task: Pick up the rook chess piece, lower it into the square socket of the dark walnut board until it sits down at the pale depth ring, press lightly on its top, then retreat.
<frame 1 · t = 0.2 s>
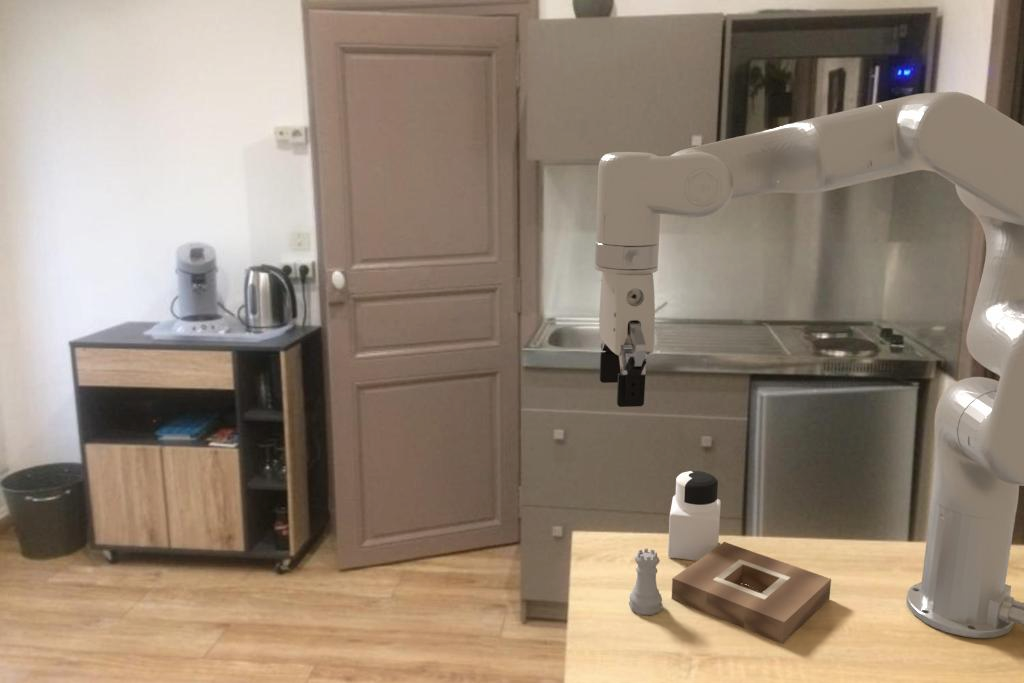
hand: (620, 393, 110), 30 cm above the table, tool pointing down, fingers open, 9 cm apart
board: (750, 598, 119), on the table
medicine bottle: (693, 551, 133), on the table
rook chess piece: (645, 609, 117), on the table
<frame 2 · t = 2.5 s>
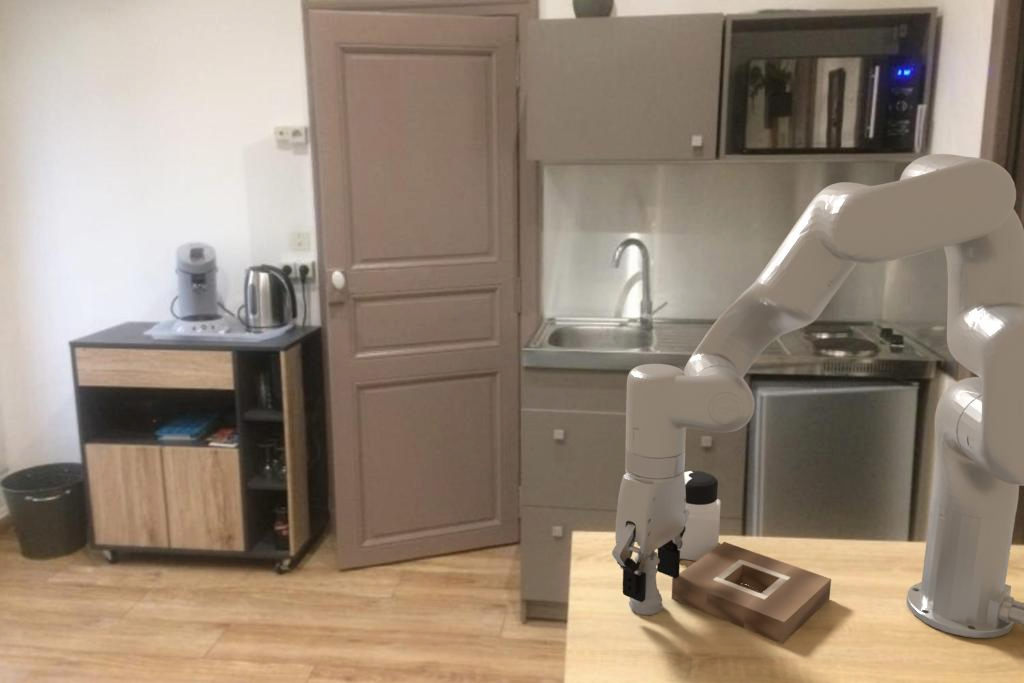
hand: (651, 584, 117), 3 cm above the table, tool pointing down, fingers open, 7 cm apart
nothing on the table moved.
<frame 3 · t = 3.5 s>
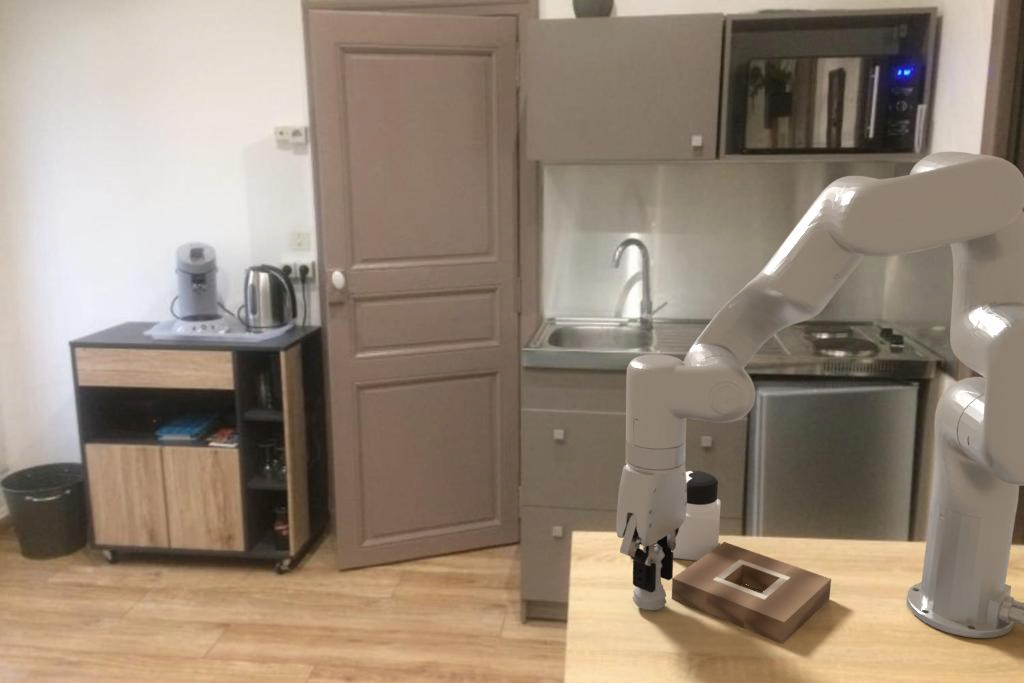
hand: (652, 581, 117), 4 cm above the table, tool pointing down, fingers closed on rook chess piece, 3 cm apart
rook chess piece: (648, 604, 117), on the table, touching gripper
everything else where it was.
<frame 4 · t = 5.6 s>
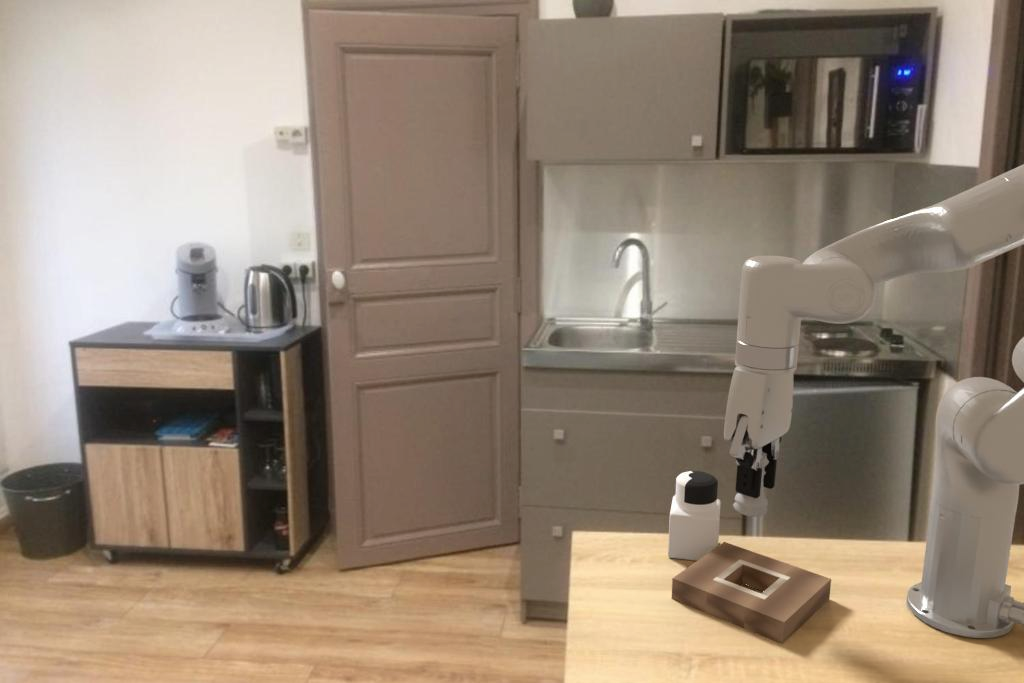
hand: (755, 488, 115), 16 cm above the table, tool pointing down, fingers closed on rook chess piece, 3 cm apart
rook chess piece: (749, 512, 116), point 13 cm above the table, touching gripper
everything else where it was.
when the fingers open (4 cm above the table, at t = 7.4 s): rook chess piece stays where it is, on the table.
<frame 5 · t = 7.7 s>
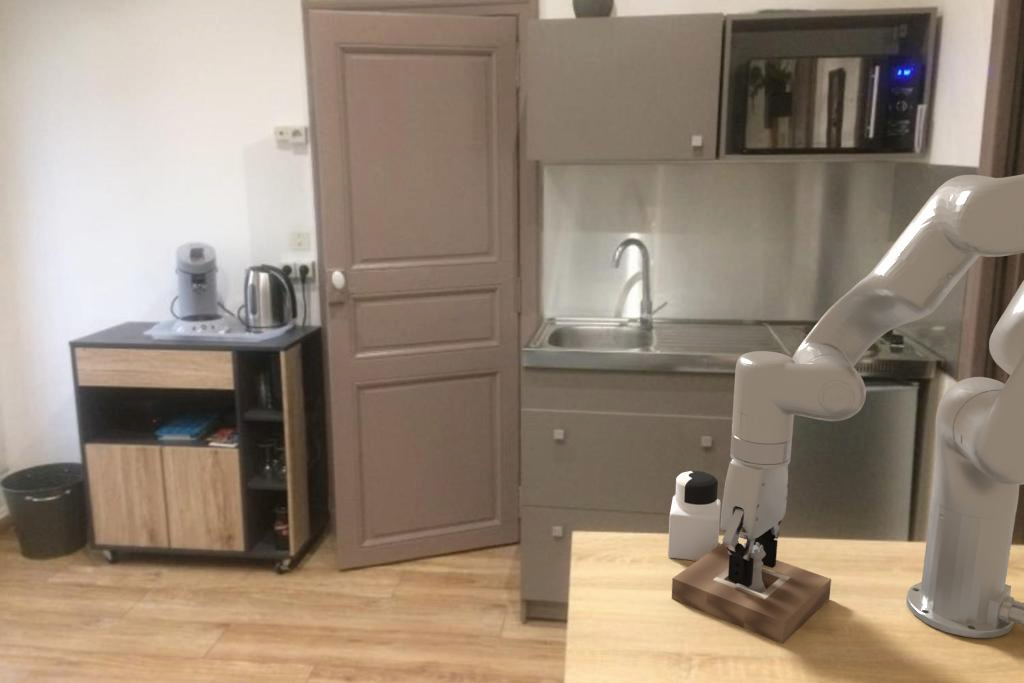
hand: (752, 572, 118), 4 cm above the table, tool pointing down, fingers open, 6 cm apart
rook chess piece: (749, 601, 119), on the table
everything else where it was.
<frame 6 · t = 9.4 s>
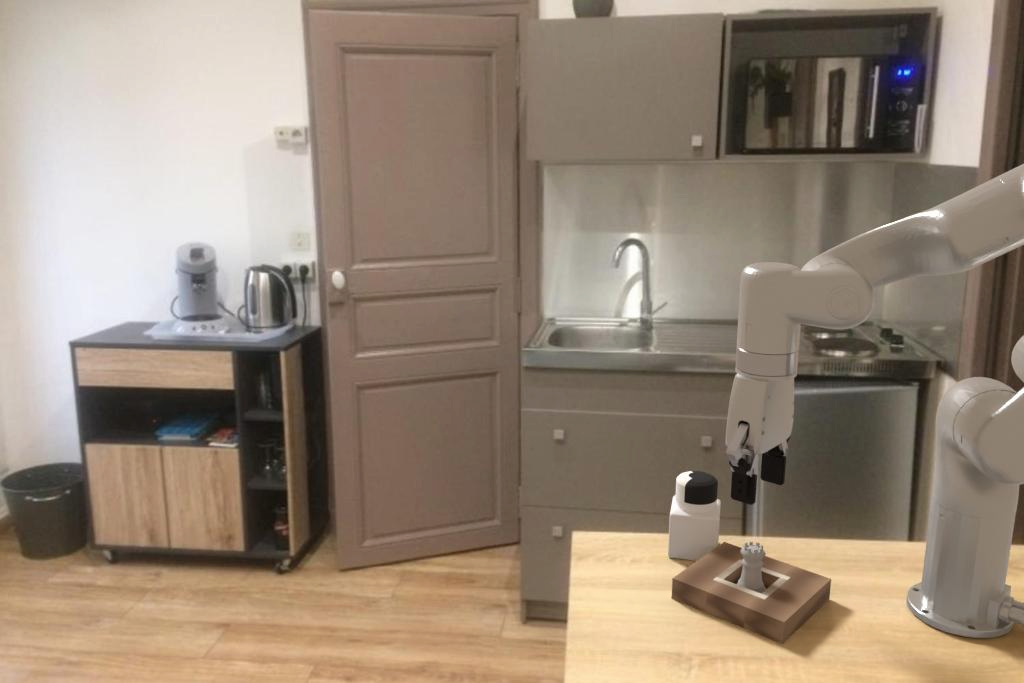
hand: (757, 490, 115), 16 cm above the table, tool pointing down, fingers open, 7 cm apart
nothing on the table moved.
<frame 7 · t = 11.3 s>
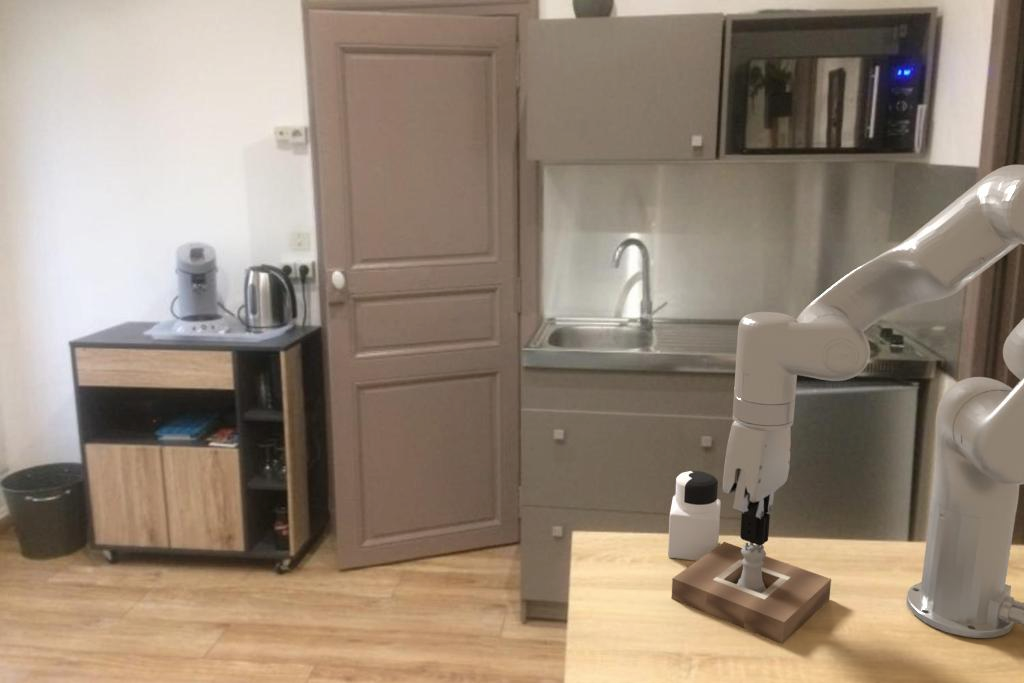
hand: (754, 540, 117), 9 cm above the table, tool pointing down, fingers closed
nothing on the table moved.
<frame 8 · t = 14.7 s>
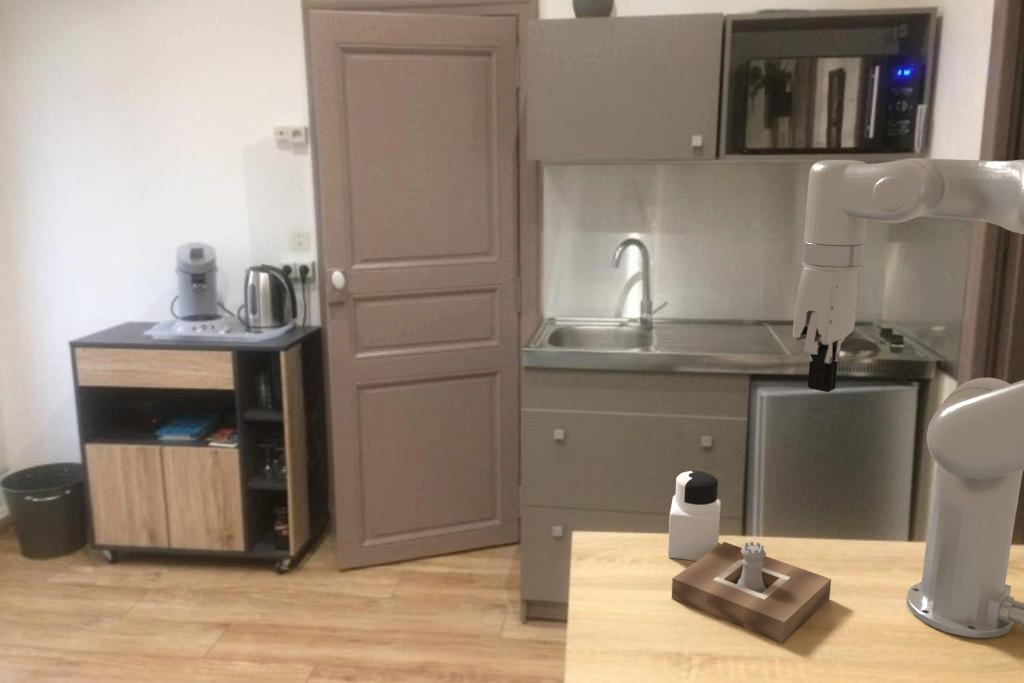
hand: (821, 388, 121), 27 cm above the table, tool pointing down, fingers closed
nothing on the table moved.
at the end: rook chess piece 0.3 cm from the board (horizontally); rook chess piece on the table; rook chess piece tilted 0° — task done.
